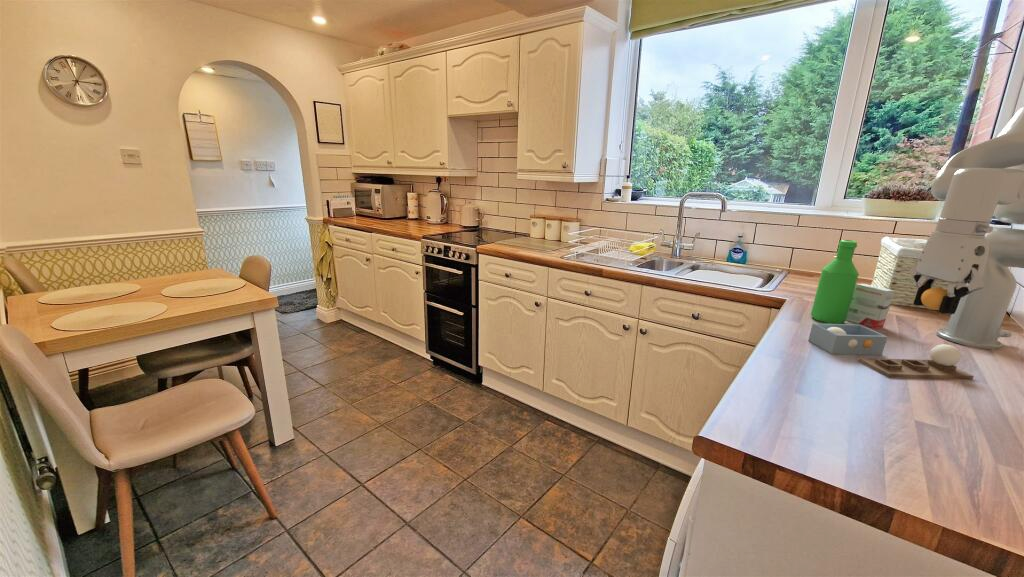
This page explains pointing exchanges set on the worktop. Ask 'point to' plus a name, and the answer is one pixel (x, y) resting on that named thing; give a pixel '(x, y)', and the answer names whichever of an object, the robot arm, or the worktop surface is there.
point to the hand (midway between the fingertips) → (933, 308)
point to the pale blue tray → (848, 339)
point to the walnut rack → (914, 368)
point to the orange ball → (933, 297)
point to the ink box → (869, 305)
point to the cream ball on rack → (945, 355)
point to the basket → (901, 269)
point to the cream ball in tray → (837, 330)
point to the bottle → (836, 286)
